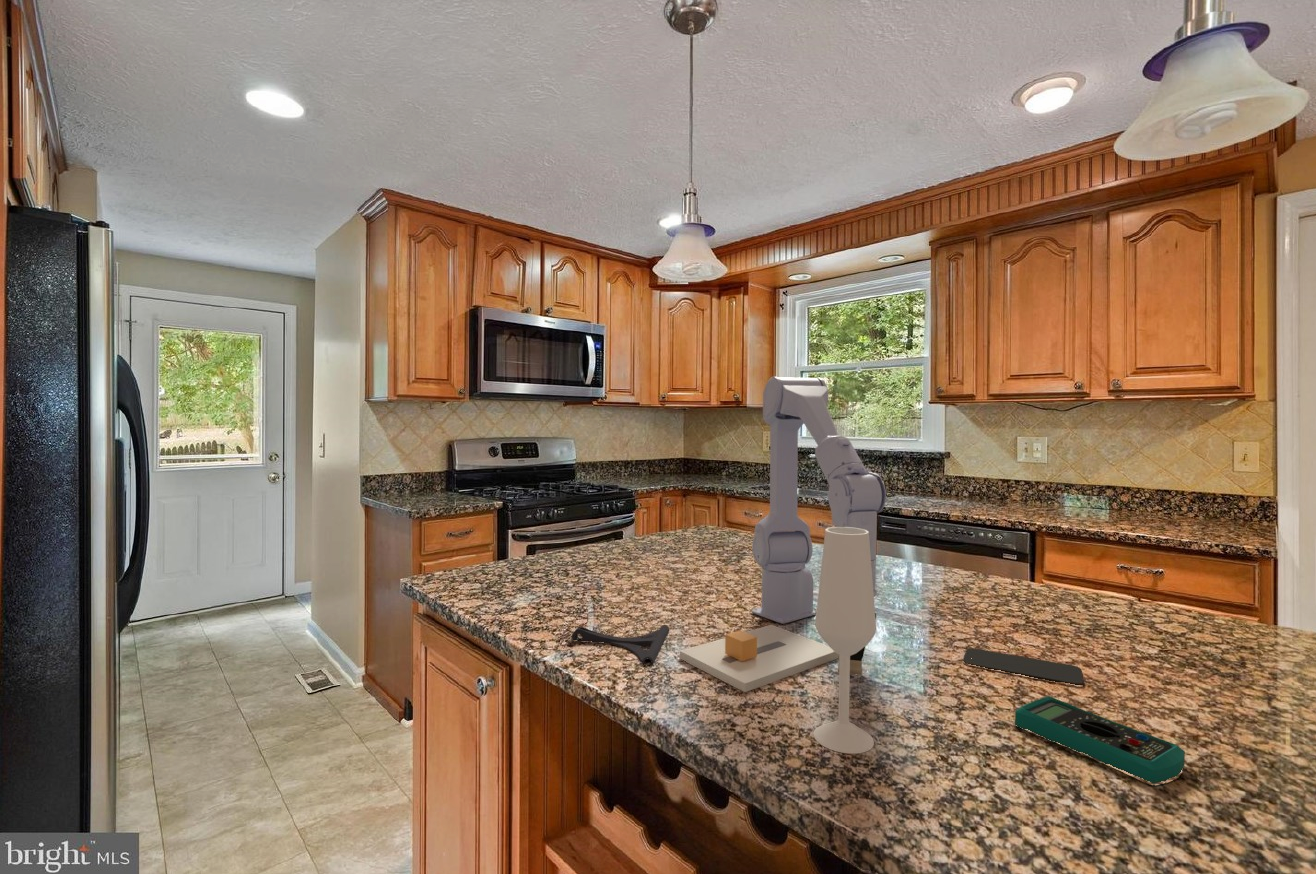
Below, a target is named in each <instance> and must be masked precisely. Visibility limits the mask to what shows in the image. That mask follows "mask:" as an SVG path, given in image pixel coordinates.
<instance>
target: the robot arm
mask: <svg viewBox="0 0 1316 874" xmlns="http://www.w3.org/2000/svg"><path fill="white" fill-rule="evenodd" d="M828 404H829V389H828V385H827V383H826V382H825V380H824V379H823V378H821V377H778V376H771V377H769V379H768V380H767V382H766V384H765V386H764V388H763V391H762V415H763V416H762V420H763V422H764V423H766V424H767V425H769V428H770V430H769V431H770V434H769V435H770V436H769V437H770V438H769V440H770V441H769V442H770V443H769V447H770V448H769V449H770V451H769V454H770V455H769V468H770V469H769V513H768V514H767V515H766V516H765V517H764V518H762V519H761V520H759V521H758V522H757V523H756V524H755V526H754V534H753V535H754V536H753V538H752V539H753V540H752V545H751V546H752V547H751V549H752V556H753V559H754V561H755V562H756V564H757V565H758V566H759V567H761V607H758V608H755V609H751V613H752V614H754V615H757V616H760V617H763V618H765V619H767V620H770V621H773V622H776V623H779V624H781V625H782V624H783V625H784V624H788V623H791V622H794V621H798V620H801V619H804V618H808V617H812V616H816V611H815V610H814V577H813V574H812V572H811V570H810V568H808V567H807V566H806V565H807V564H809V562H810V561H811V559H812V556H813V550H814V549H813V542H812V539H811V530H810V525H808V523H807V522H806V521H804V519H802V518H801V517H799V516H798V486H799V485H798V477H799V475H798V473H799V472H798V471H799V470H798V469H799V468H798V465H799V463H798V460H799V459H798V457H799V455H798V452H799V448H798V447H799V445H798V441H799V429H801V427H802V426H803V425H804V426H805V427H806V429H807V430H808V432H809V434H810V435H811V437H812V438H813V440H814V441H815V443H816V445H817V446H816V448H815V451H814V455H815V459H816V460H817V463H818V465H819V467H820V469H821V471H822V473H823V476H824V477H825V479H826V481H827V484H828V491H827V500H828V501H827V502H828V504H829V507H830V511H831V512H830V513H831V519H830V520H831V521H832V522H831V523H832V525H834V527H852V528H859V529H864V530H867V531H868V532H869V542H870V555H871V568H872V580H873V593H874V598H875V597H876V596H877V594H878V589H877V587H876V577H877V574H876V571H877V532H878V531H877V528H878V527H877V525H878V524H877V523H878V514H879V513H880V512H882V511H883V509H884V508H885V505H886V501H887V491H886V486H885V483H884V481H883V478H882V477H881V476H880V474H878V473H877V472H872V470H871V469H869V468H866V467H865V465H864V464H863V462H862V460H861V458H860V456H859V455H858V453H857V451H856V449H855V447H854V446H853V444H852V442H851V441H850V439H849V438H848V437H847V436H843V435H839V433H838V430H837V427H836V425H835V423H834V420H833V418H832V416H831V413H830V410H829V409H828ZM875 619H876V620H877V613H876V612H875ZM865 650H866V646H865V647H864V648H862V649H861V650H860V651H858V652H857V653H856V654H854V655H851V656H850V660H856V661H862V662H863V657H864V653H865Z"/></svg>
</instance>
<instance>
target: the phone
mask: <svg viewBox="0 0 1316 874" xmlns="http://www.w3.org/2000/svg"><path fill="white" fill-rule="evenodd" d="M971 658H972V659H971ZM963 659H964V660H963ZM963 659H962V662H963V661H964V662H965V663H968V664H971V665H976V666H980V667H985V668H988V669H994V670H1001V671H1005V672H1010V673H1015V674H1021V675H1025V676H1029V677H1034V678H1038V679H1045V680H1049V681H1055V682H1065V683H1070V684H1075V685H1083V686H1084V675H1083V669H1081V667H1079V666H1077V665H1074V664H1073V665H1072V664H1067V663H1062V662H1057V661H1049V660H1044V659H1039V658H1034V657H1033V658H1032V657H1026V656H1023V655H1022V656H1021V655H1017V654H1016V655H1015V654H1010V653H1003V652H998V651H992V650H986V649H980V648H974V647H969V648H967V649H966V650H965V654H964V656H963Z"/></svg>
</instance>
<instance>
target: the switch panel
mask: <svg viewBox="0 0 1316 874" xmlns="http://www.w3.org/2000/svg"><path fill="white" fill-rule="evenodd" d="M744 632H745V633H748V634H750V635H753V636H755V637H757V657H754V658H751V659H748V660H745V661H740V660H738V659H736V658H734V657H731V656H729V655H727V654H725V637H724V638H720V639H717V640H714V641H709V642H706V643H702V644H699V645H695V646H692V647H688V648H686V649H682V650H680V651H679V659H680V660H681V659H682V660H681V661H683V660H684V661H683V662H685V661H686V662H685V663H687V664H689V665H691V666H693V667H695V668H697V669H699V670H701V671H703V672H705V673H707V675H710V676H713V677H715V678H716V679H718V680H720V681H722V682H724V683H726V684H727V685H729V686H732V687H734V688H736V689H738V690H740V691H741V692H743V693H747V692H749V691H753V690H755V689H758V688H760V687H763V686H766V685H769V684H771V683H775V682H777V681H780V680H782V679H785V678H787V677H790V676H793V675H796V674H799V673H802V672H805V671H807V670H809V669H813V668H815V667H818V666H820V665H823V664H824V665H825V664H826V663H829V662H831V661H834V660H838V659H839V654H838V653H836V652H835V651H833V650H832V649H831V648H830V647H829V645H828V644H824V643H822V642H818V641H817V640H814V639H811V638H808V637H805V636H803V635H800V634H797V633H794V632H792V631H789V630H786V629H784V628H781V627H779V626H775V625H773V624H769V625H765V626H762V627H758V628H755V629H751V630H749V631H744Z"/></svg>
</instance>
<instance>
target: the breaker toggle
mask: <svg viewBox="0 0 1316 874" xmlns="http://www.w3.org/2000/svg"><path fill="white" fill-rule="evenodd" d="M745 632H746V631H742V630H736V631H733V632H730V633H726V634H725V635H724V636H725V637H724V638H725V654H727V655H729V656H731V657H734V658H736V659H738V660H740V661H745V660H748V659H751V658H754V657H757V637H755V636H753V635H750V634H748V633H745Z"/></svg>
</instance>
